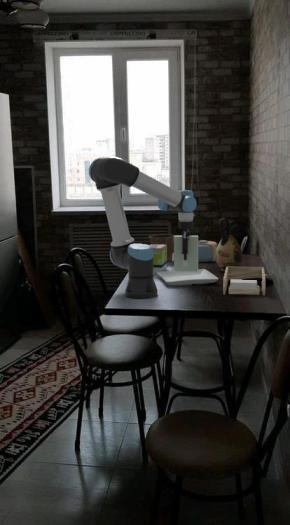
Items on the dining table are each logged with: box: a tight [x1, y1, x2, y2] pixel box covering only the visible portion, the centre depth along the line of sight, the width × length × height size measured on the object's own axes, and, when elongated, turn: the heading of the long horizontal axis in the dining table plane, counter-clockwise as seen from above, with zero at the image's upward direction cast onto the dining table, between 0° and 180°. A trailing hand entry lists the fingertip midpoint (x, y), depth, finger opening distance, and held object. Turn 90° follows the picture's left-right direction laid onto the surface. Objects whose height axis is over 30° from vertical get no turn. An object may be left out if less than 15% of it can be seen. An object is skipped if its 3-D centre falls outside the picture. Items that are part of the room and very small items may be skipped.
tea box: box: [148, 243, 168, 275], centre depth 301 cm, size 15×10×15 cm
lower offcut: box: [228, 285, 261, 296], centre depth 247 cm, size 7×14×3 cm, turn 80°
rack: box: [222, 266, 266, 296], centre depth 258 cm, size 32×19×7 cm, turn 169°
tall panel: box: [173, 234, 199, 272], centre depth 273 cm, size 5×12×18 cm, turn 79°
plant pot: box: [148, 234, 175, 263], centre depth 333 cm, size 16×16×16 cm
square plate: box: [155, 268, 219, 287], centre depth 275 cm, size 27×27×4 cm
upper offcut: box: [230, 279, 258, 289], centre depth 246 cm, size 7×12×3 cm, turn 80°
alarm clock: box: [198, 239, 218, 263], centre depth 337 cm, size 19×20×12 cm
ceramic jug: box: [215, 217, 243, 272], centre depth 298 cm, size 17×15×30 cm
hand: (186, 265), depth 274 cm, fingers closed on tall panel, 5 cm apart
